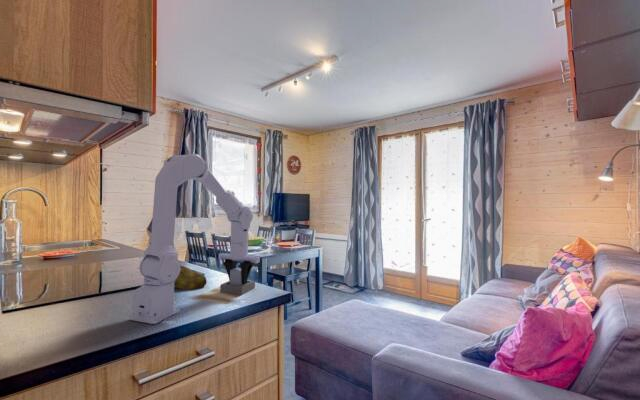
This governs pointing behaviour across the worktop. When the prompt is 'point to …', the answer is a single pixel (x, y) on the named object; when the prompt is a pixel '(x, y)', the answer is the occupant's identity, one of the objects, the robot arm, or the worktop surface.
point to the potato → (189, 279)
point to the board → (217, 296)
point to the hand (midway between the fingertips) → (238, 282)
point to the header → (237, 288)
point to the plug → (236, 277)
